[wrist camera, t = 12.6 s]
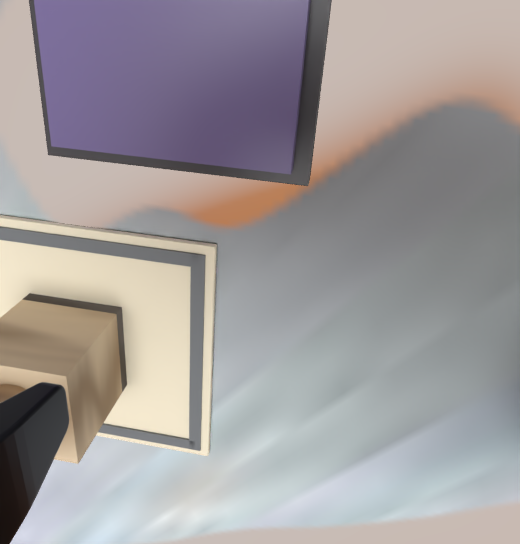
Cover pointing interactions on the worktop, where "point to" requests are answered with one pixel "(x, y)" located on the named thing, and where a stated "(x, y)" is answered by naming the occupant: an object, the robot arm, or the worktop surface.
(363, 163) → the worktop surface
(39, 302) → the stamp
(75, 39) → the ink pad
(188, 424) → the cream square plate
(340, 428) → the worktop surface
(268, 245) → the worktop surface
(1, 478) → the robot arm
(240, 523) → the worktop surface
